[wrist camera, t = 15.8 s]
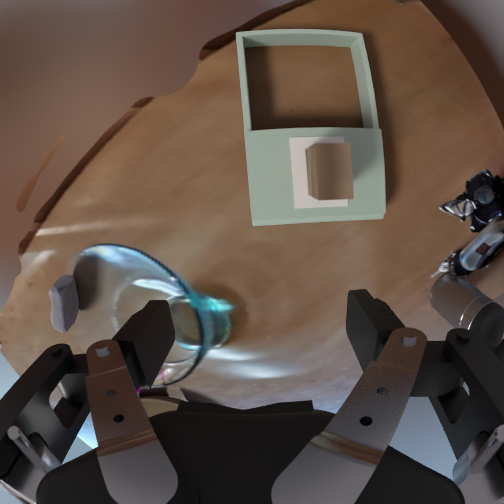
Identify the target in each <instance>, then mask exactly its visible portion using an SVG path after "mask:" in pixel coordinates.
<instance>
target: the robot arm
mask: <svg viewBox="0 0 504 504" xmlns="http://www.w3.org/2000/svg"><path fill="white" fill-rule="evenodd" d="M430 303H431V305H432V307H433V308H434V309H435V310H436V311H437V312H438V313H439V314H440V315H441V316H442V317H443V318H444V319H445V320H447V321H448V322H449V323H450V324H451V325H452V326H453V327H454V328H455V329H452V330H450V331H449V332H448V333H447V336H446V340H445V341H427V337H426V335H425V334H424V333H423V332H421V331H420V330H418V329H415V328H409V327H405V326H404V324H403V323H402V322H401V321H400V319H399V318H398V317H397V316H396V315H395V313H394V312H393V311H392V310H391V308H390V307H389V306H388V305H387V304H386V303H385V302H383V301H381V300H380V299H378V298H376V299H374V298H373V297H372V296H371V295H370V293H369V292H368V291H367V290H366V289H359V290H350V291H349V292H348V301H347V316H346V331H347V335H348V338H349V340H350V342H351V345H352V347H353V349H354V351H355V354H356V356H357V358H358V361H359V363H360V365H361V368H362V370H363V372H364V373H363V374H362V376H361V378H360V379H359V381H358V382H357V384H356V385H355V387H354V388H353V390H352V391H351V393H350V395H349V396H348V397H347V399H346V400H345V402H344V403H343V405H342V406H341V408H340V409H339V410H338V412H337V413H336V414H334V413H331V412H327V411H322V410H315V409H313V404H312V400H308V401H297V402H282V403H275V404H271V405H266V406H262V407H257V408H252V409H246V410H241V409H235V408H231V407H226V406H221V405H217V404H212V403H199V402H185V401H180V402H179V405H178V408H177V410H172V411H167V412H163V413H159V414H157V415H154V416H152V417H150V418H149V417H148V414H147V412H146V410H145V408H144V406H143V403H142V401H141V399H140V397H139V394H138V392H137V391H138V389H139V388H144V389H150V388H151V386H152V384H153V382H154V380H155V378H156V377H157V375H158V373H159V371H160V369H161V367H162V365H163V363H164V361H165V359H166V357H167V355H168V353H169V351H170V349H171V347H172V345H173V343H174V340H175V330H174V326H173V321H172V317H171V313H170V308H169V304H168V302H167V301H166V300H150V301H149V302H148V303H147V304H146V305H145V307H144V308H143V309H142V310H140V311H138V312H137V313H135V314H134V315H132V316H131V317H130V318H129V320H128V321H127V322H126V323H125V324H124V325H123V327H122V328H121V329H120V330H119V331H118V332H117V333H116V335H115V336H114V337H113V338H112V339H106V340H100V341H98V342H95V343H93V344H92V345H91V346H89V348H88V349H87V351H86V354H75V355H73V353H72V351H71V348H70V346H69V345H67V344H56V345H53V346H51V347H49V348H48V349H46V350H45V351H44V352H43V353H42V354H41V355H40V356H39V357H38V359H37V360H36V361H35V362H34V363H33V364H32V365H31V366H30V367H29V368H28V369H27V370H26V371H25V372H24V374H23V375H22V376H21V377H20V378H19V379H18V380H17V381H16V383H15V384H14V385H13V386H12V387H11V388H10V389H9V391H8V392H7V393H6V394H5V395H4V396H3V398H2V399H1V400H0V486H1V487H2V488H3V489H4V490H5V491H6V492H8V493H9V494H10V495H12V496H14V497H15V498H16V499H17V500H18V501H20V502H21V503H22V504H504V339H503V340H502V337H503V333H504V308H503V307H501V306H500V305H499V304H497V303H496V302H495V301H493V300H492V299H490V298H489V297H488V296H486V295H485V294H483V293H482V292H481V291H480V290H479V289H478V288H476V287H475V286H473V285H472V284H470V283H469V282H467V281H466V280H464V279H463V278H461V277H458V276H457V275H455V274H453V273H446V274H444V275H442V276H441V277H440V278H438V279H437V281H436V282H435V283H434V285H433V287H432V289H431V293H430ZM501 340H502V341H501ZM464 381H465V383H466V384H467V386H468V388H469V394H470V395H468V394H467V392H466V391H465V389H464V387H463V383H464ZM56 386H57V387H58V388H59V390H60V392H61V394H62V395H63V397H62V398H61V400H60V401H59V402H58V404H57V405H56V407H55V408H54V410H53V409H52V408H51V406H50V403H49V397H50V394H51V393H52V391H53V390H54V389H55V387H56ZM409 397H429V399H430V401H431V403H432V406H433V408H434V410H435V412H436V414H437V416H438V418H439V420H440V422H441V424H442V427H443V429H444V431H445V433H446V435H447V438H448V440H449V442H450V445H451V447H452V449H453V452H454V454H455V457H456V459H457V462H456V463H455V465H454V468H453V481H452V480H451V479H449V478H447V477H445V476H444V475H442V474H440V473H438V472H436V471H434V470H432V469H430V468H428V467H426V466H424V465H422V464H421V463H419V462H417V461H415V460H413V459H412V458H410V457H408V456H406V455H405V454H403V453H401V452H399V451H398V450H396V449H394V448H393V447H391V446H389V444H390V441H391V439H392V437H393V435H394V433H395V431H396V429H397V426H398V424H399V422H400V419H401V417H402V415H403V412H404V410H405V407H406V404H407V402H408V399H409ZM90 411H91V416H92V421H93V426H94V430H95V434H96V438H97V442H98V447H97V448H95V449H93V450H91V451H89V452H87V453H85V454H83V455H81V456H79V457H77V458H75V459H73V460H71V461H69V462H67V463H65V464H63V465H61V464H62V463H63V461H64V459H65V457H66V455H67V453H68V451H69V449H70V447H71V445H72V443H73V441H74V440H75V438H76V436H77V434H78V432H79V430H80V429H81V427H82V425H83V423H84V421H85V420H86V418H87V416H88V414H89V413H90Z"/></svg>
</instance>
